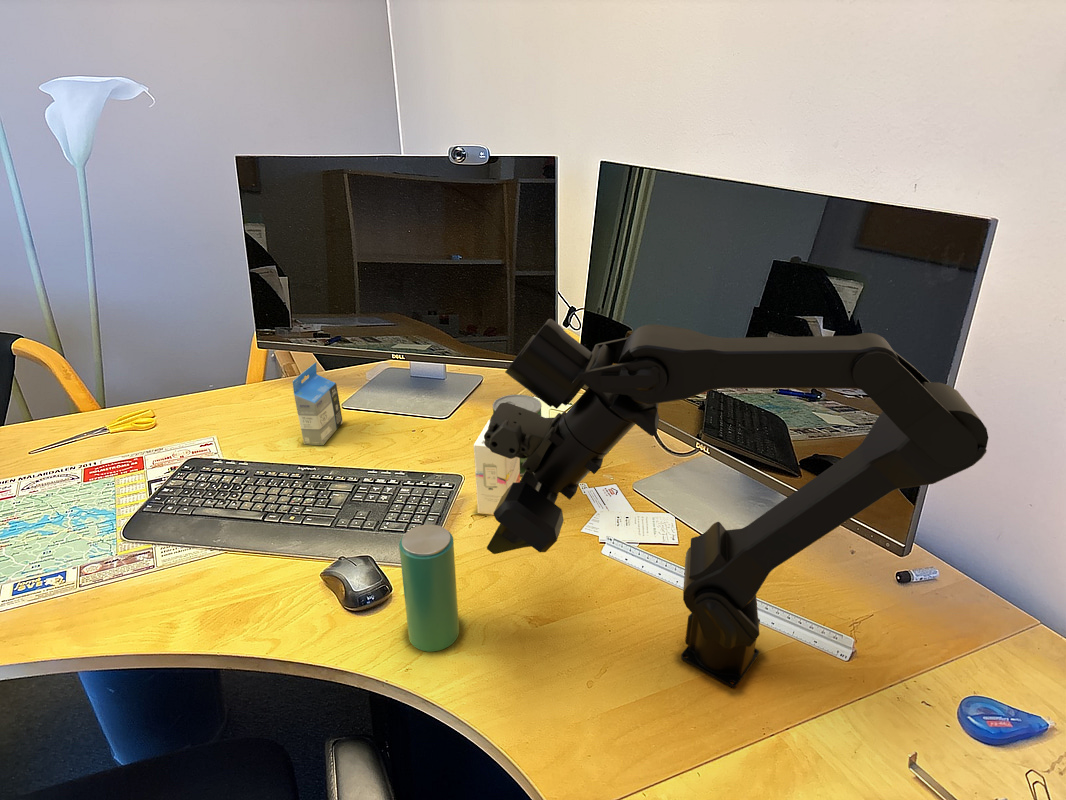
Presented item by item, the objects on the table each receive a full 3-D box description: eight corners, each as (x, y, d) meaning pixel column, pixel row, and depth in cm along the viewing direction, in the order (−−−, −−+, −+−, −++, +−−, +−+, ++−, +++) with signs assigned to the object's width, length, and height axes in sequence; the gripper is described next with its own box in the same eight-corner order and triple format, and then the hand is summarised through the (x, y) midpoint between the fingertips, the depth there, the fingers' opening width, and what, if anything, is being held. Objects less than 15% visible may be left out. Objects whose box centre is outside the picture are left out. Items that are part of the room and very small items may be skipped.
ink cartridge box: (490, 483, 107) (487, 400, 101) (520, 486, 106) (519, 402, 100) (475, 514, 99) (471, 425, 93) (508, 517, 99) (506, 429, 92)
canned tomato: (549, 458, 114) (550, 400, 109) (527, 480, 108) (527, 419, 103) (508, 448, 117) (507, 390, 113) (485, 468, 111) (483, 409, 106)
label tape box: (323, 446, 118) (313, 382, 113) (301, 444, 119) (290, 380, 113) (343, 423, 126) (335, 362, 121) (323, 422, 126) (314, 361, 121)
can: (469, 630, 78) (464, 536, 73) (432, 660, 74) (423, 563, 69) (435, 607, 82) (428, 516, 76) (398, 634, 78) (387, 540, 72)
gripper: (544, 349, 74) (471, 441, 82) (496, 425, 58) (410, 531, 65) (623, 410, 75) (543, 496, 82) (598, 502, 59) (501, 598, 66)
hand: (502, 525), depth 74 cm, fingers open, 9 cm apart
